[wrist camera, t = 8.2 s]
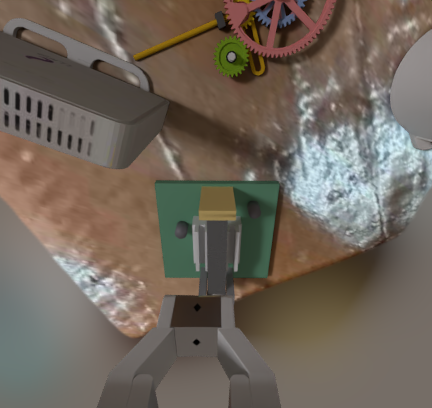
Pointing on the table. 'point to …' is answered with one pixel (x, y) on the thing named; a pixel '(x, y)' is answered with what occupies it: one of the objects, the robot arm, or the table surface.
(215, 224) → the strap
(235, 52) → the mechanical gear assembly
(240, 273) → the board
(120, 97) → the network device
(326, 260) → the table surface
